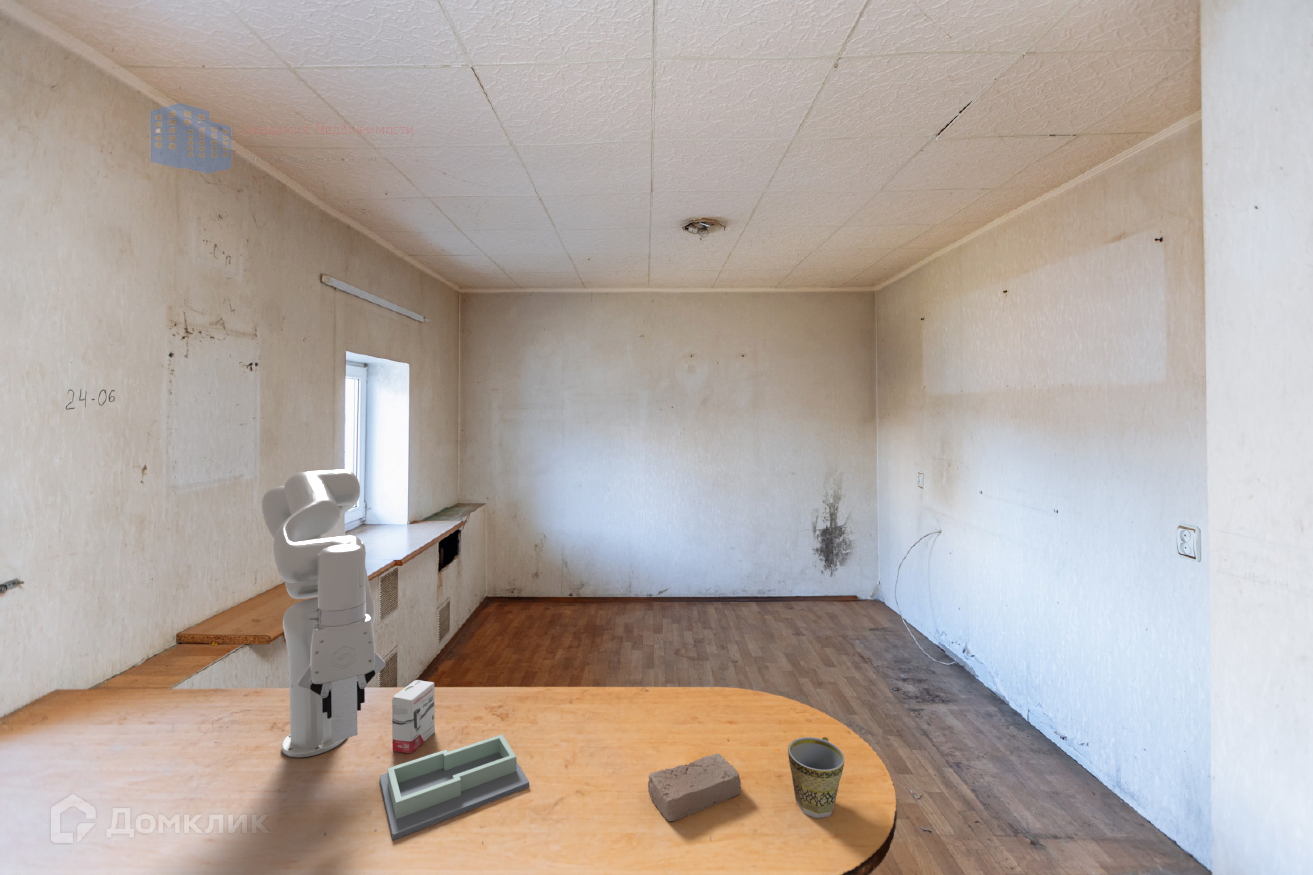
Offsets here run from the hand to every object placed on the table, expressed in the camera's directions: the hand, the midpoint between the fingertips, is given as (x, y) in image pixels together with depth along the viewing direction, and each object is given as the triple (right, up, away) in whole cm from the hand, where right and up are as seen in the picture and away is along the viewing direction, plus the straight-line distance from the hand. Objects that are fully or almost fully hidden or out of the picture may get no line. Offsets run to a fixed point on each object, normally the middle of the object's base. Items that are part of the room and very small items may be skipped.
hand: (343, 709), depth 99 cm
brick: (+65, -18, +4) cm, 68 cm away
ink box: (+4, -17, +20) cm, 27 cm away
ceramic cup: (+88, -18, +2) cm, 90 cm away
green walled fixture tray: (+18, -17, +6) cm, 26 cm away
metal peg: (0, -4, 0) cm, 4 cm away
